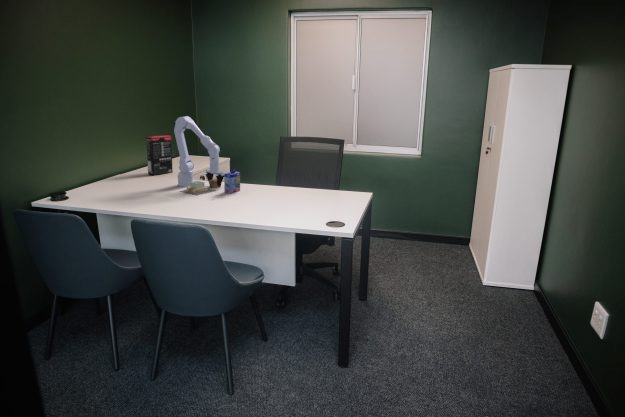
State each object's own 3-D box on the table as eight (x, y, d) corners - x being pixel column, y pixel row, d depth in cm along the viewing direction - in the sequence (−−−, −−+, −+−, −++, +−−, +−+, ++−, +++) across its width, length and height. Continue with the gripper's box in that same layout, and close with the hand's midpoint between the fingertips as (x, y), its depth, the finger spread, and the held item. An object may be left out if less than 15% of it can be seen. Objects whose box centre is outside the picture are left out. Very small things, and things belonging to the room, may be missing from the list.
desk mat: (178, 192, 271) (178, 191, 271) (198, 187, 284) (198, 186, 284) (196, 196, 263) (196, 195, 263) (216, 191, 276) (216, 190, 276)
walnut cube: (209, 187, 285) (209, 180, 284) (215, 186, 289) (215, 178, 288) (215, 188, 282) (214, 181, 281) (220, 187, 286) (220, 179, 285)
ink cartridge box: (231, 194, 270) (230, 170, 266) (224, 193, 272) (223, 169, 268) (241, 191, 278) (240, 168, 274) (233, 190, 281) (233, 167, 277)
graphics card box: (167, 171, 331) (165, 134, 324) (173, 172, 327) (171, 135, 320) (147, 174, 318) (145, 136, 310) (153, 176, 314) (151, 137, 307)
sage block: (190, 187, 272) (189, 182, 271) (197, 185, 277) (197, 180, 276) (197, 188, 269) (196, 183, 268) (204, 186, 274) (204, 182, 273)
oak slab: (186, 191, 272) (186, 187, 272) (197, 188, 279) (197, 184, 279) (197, 193, 267) (196, 189, 267) (208, 190, 275) (207, 186, 274)
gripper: (227, 164, 281) (227, 185, 285) (211, 162, 289) (211, 182, 292) (219, 166, 275) (219, 187, 279) (202, 163, 283) (203, 184, 287)
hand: (215, 185), depth 285 cm, fingers open, 7 cm apart
